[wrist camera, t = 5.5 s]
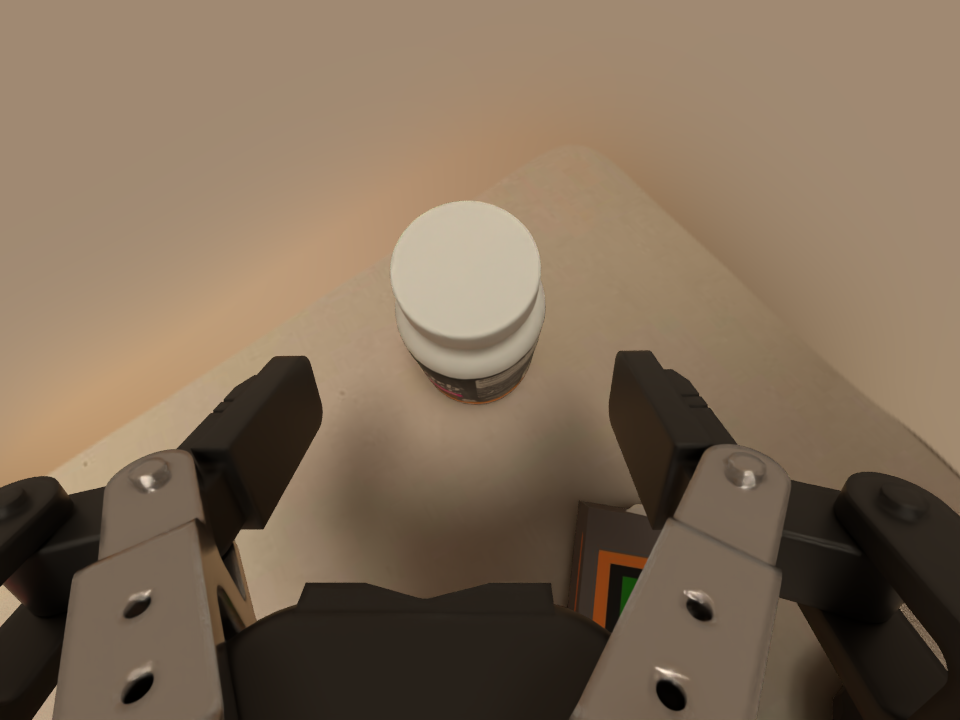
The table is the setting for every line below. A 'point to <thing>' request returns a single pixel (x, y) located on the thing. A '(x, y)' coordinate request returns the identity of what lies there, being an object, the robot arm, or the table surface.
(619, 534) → the electronic device
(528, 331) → the pill bottle
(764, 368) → the table surface
